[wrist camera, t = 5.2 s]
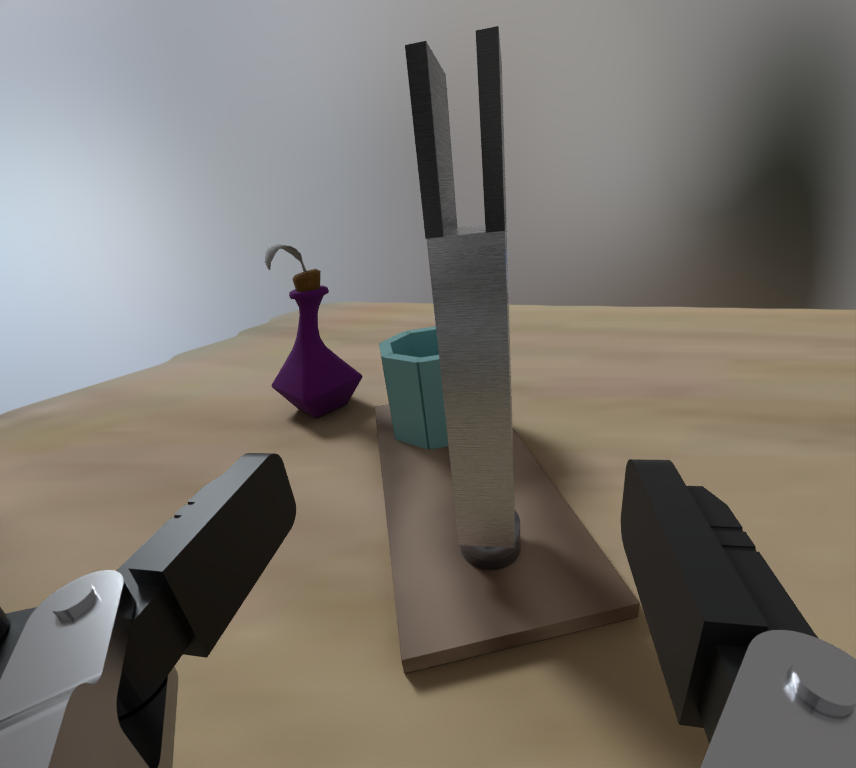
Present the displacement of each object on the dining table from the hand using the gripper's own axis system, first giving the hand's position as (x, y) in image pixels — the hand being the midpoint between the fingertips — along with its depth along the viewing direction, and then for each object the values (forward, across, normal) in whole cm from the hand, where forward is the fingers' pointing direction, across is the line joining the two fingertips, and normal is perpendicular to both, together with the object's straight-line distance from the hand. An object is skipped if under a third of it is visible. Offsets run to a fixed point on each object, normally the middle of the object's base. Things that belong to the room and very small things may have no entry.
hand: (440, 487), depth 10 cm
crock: (+26, +6, +13) cm, 30 cm away
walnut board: (+19, +3, +14) cm, 24 cm away
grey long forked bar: (+11, 0, +13) cm, 17 cm away
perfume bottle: (+31, +20, +14) cm, 40 cm away
